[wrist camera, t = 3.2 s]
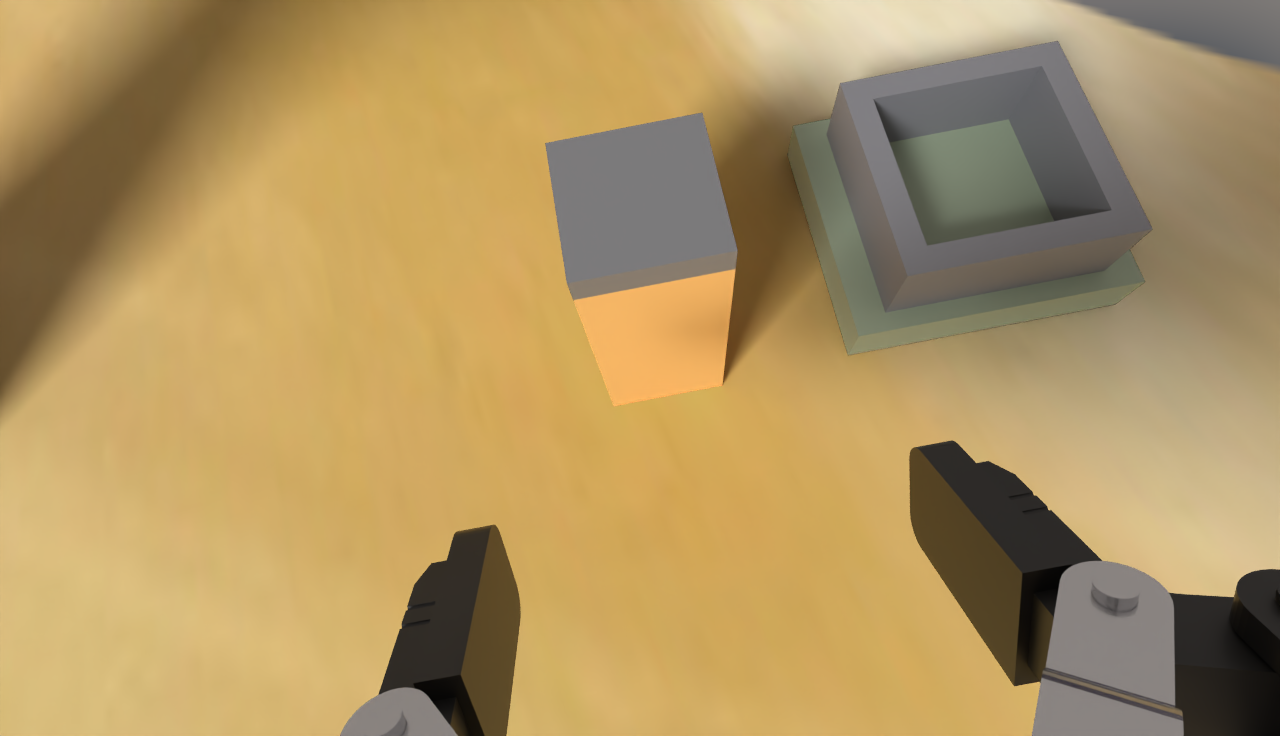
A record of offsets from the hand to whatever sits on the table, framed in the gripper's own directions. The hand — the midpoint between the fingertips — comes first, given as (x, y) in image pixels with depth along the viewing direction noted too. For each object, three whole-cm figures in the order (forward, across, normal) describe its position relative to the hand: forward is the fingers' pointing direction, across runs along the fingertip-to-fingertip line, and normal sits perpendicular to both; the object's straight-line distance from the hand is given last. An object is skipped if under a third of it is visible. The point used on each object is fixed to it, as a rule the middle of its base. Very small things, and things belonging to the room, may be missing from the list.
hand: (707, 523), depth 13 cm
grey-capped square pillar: (+16, 0, +3) cm, 16 cm away
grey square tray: (+18, -13, +1) cm, 22 cm away
